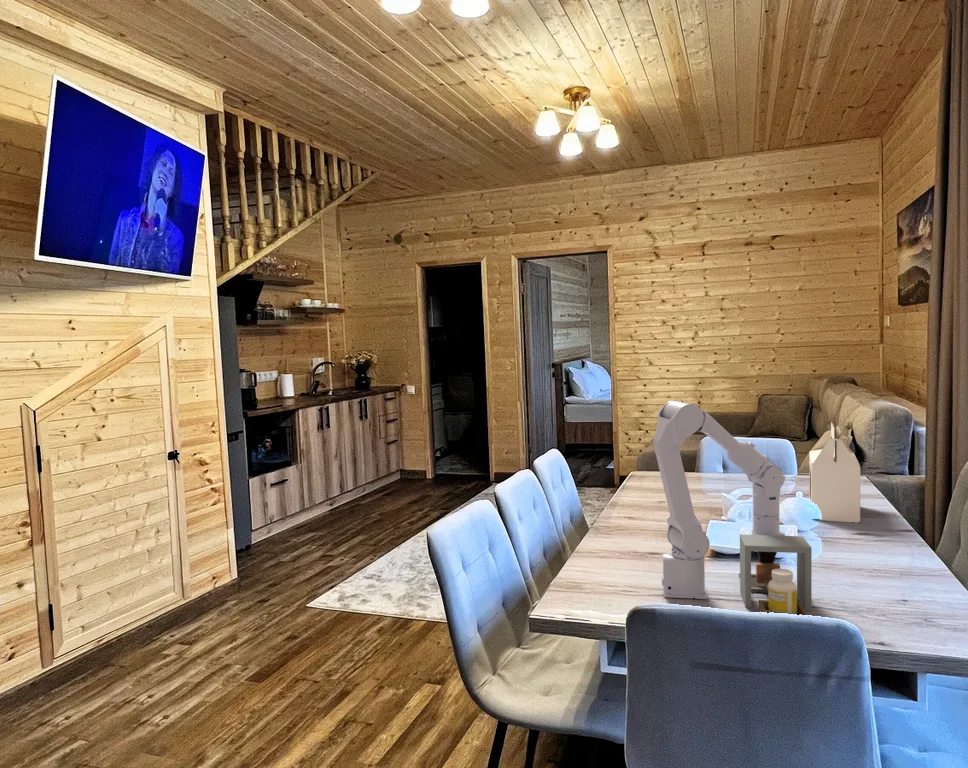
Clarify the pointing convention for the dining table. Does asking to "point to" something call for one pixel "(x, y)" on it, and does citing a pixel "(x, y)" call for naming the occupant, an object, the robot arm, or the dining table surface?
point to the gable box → (835, 478)
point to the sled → (764, 577)
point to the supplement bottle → (782, 592)
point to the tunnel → (777, 545)
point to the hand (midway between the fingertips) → (766, 570)
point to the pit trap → (756, 585)
